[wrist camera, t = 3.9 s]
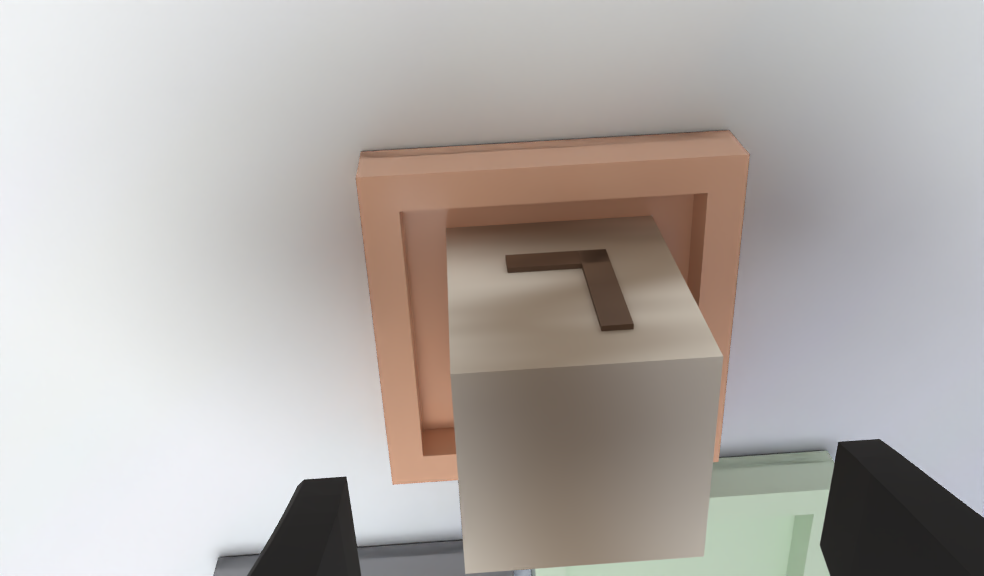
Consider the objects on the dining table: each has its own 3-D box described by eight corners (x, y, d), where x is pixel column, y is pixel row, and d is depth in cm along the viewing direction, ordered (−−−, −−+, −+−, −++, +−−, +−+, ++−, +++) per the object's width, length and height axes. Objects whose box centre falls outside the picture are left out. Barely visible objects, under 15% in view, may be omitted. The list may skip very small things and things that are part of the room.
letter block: (652, 210, 18) (723, 350, 13) (643, 385, 20) (703, 556, 15) (445, 222, 18) (449, 368, 13) (457, 397, 20) (465, 574, 15)
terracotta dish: (728, 130, 17) (749, 154, 16) (703, 424, 21) (718, 461, 20) (360, 151, 17) (355, 177, 16) (395, 445, 21) (392, 484, 19)
